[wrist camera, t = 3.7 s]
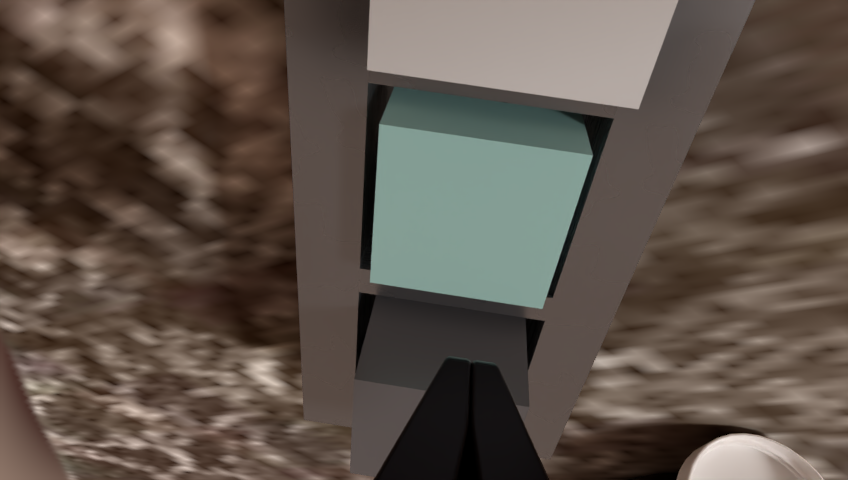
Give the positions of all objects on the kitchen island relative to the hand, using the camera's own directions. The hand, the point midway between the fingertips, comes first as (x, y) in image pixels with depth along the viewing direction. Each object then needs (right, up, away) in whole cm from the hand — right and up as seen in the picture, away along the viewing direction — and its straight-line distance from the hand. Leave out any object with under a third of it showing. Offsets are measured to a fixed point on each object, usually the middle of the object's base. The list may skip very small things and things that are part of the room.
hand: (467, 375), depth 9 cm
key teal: (+1, +5, +9) cm, 10 cm away
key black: (0, -1, +11) cm, 11 cm away
